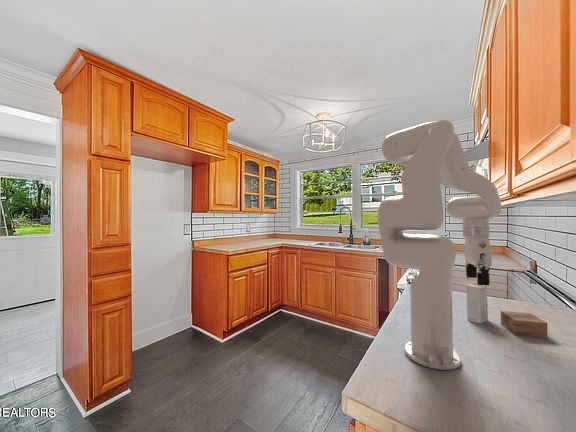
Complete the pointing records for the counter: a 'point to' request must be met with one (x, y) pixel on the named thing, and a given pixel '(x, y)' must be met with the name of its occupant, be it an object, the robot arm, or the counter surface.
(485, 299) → the skincare box
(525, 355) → the counter surface
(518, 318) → the brown wooden block
